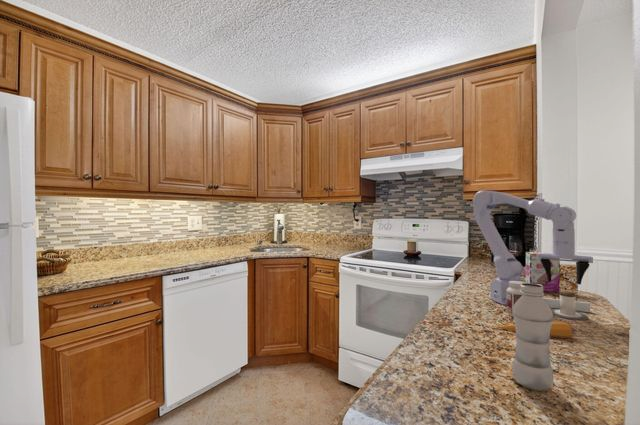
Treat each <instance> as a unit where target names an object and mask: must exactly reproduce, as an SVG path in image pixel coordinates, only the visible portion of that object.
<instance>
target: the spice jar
mask: <svg viewBox="0 0 640 425" xmlns="http://www.w3.org/2000/svg"><path fill="white" fill-rule="evenodd" d="M576 298H577V297H576V292H574V291H570V290H568V291H567V290H559V300H560V313H562V314H565V315H572V316H574V315H576V312H577V311H576V301H577V300H576Z"/></svg>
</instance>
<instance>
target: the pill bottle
mask: <svg viewBox="0 0 640 425" xmlns="http://www.w3.org/2000/svg"><path fill="white" fill-rule="evenodd" d="M522 283H526V281H522V280H521V281H509V286H510V287H509V288H507V305H506V313H507V315H509V316H511V317H514V316H513V307H514V304H515V303H516V302H517V300H518V299H519V298H520V297H521V296H522V294H521V293H520V290H521V287H520V285H521V284H522Z"/></svg>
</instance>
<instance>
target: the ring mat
mask: <svg viewBox="0 0 640 425" xmlns="http://www.w3.org/2000/svg"><path fill="white" fill-rule="evenodd" d="M550 309H551V311H552V314H553V317H554V316H555V317H558V318H562V319H566V320H573V321H586V320H588V319H589V316H588V315H586V314H585V313H583V312H580V311H576V315H574V316H572V315H565V314H562V313H560V309H559V308H550Z"/></svg>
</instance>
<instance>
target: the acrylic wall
mask: <svg viewBox="0 0 640 425" xmlns="http://www.w3.org/2000/svg"><path fill="white" fill-rule="evenodd" d="M542 299H543V300H544V301H545V302H546V303H547V304H548V306H549V307H550V309H560V298H559V299H558V298H549V297H542ZM576 312H583V313H584V312H585V313H591V303H590V302H586V301H585V302H584V301H577V300H576Z"/></svg>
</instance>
